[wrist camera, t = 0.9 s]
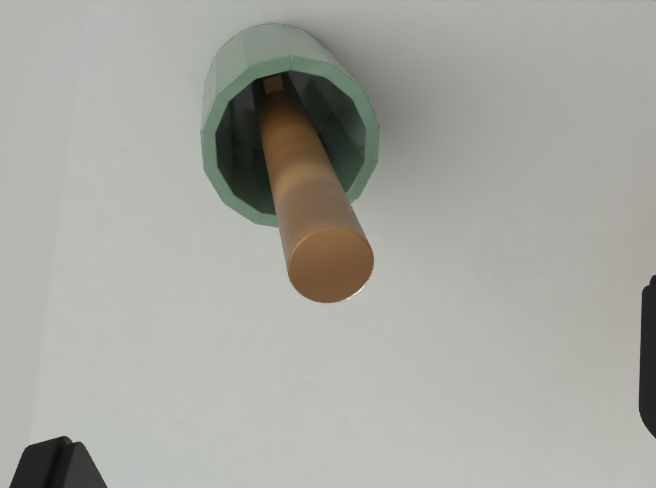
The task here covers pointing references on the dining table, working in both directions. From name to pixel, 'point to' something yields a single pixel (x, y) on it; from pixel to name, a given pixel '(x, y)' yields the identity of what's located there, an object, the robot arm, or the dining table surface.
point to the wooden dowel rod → (309, 200)
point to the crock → (242, 126)
